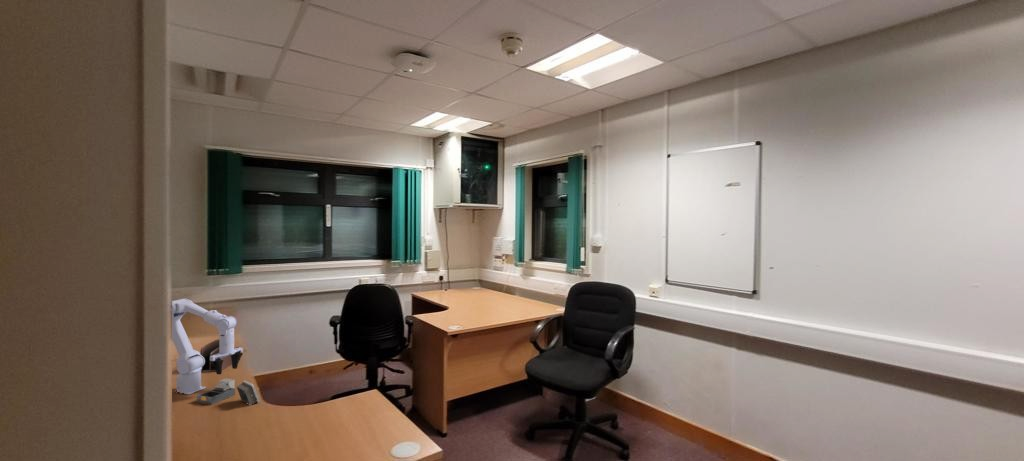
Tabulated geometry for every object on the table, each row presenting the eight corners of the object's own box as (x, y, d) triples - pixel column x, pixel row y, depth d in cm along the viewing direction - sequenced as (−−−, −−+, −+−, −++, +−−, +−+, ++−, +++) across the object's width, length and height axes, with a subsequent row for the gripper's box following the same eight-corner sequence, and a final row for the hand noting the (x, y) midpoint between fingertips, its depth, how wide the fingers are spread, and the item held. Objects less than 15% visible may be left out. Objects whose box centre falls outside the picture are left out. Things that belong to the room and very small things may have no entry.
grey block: (219, 391, 188) (219, 380, 188) (225, 388, 191) (225, 378, 191) (228, 392, 187) (228, 382, 186) (234, 390, 189) (234, 379, 189)
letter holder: (199, 372, 212) (199, 346, 212) (222, 360, 232) (222, 336, 231) (219, 372, 213) (219, 346, 213) (240, 359, 233) (240, 335, 233)
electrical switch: (260, 402, 176) (258, 382, 175) (247, 408, 171) (245, 387, 171) (250, 397, 181) (247, 378, 180) (237, 403, 176) (235, 383, 176)
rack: (196, 402, 176) (196, 392, 176) (221, 392, 186) (220, 383, 186) (211, 404, 173) (210, 394, 173) (235, 394, 184) (234, 385, 184)
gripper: (217, 348, 180) (217, 377, 180) (247, 339, 194) (247, 366, 194) (206, 346, 182) (206, 375, 182) (236, 338, 196) (236, 365, 196)
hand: (226, 371), depth 188 cm, fingers open, 7 cm apart
